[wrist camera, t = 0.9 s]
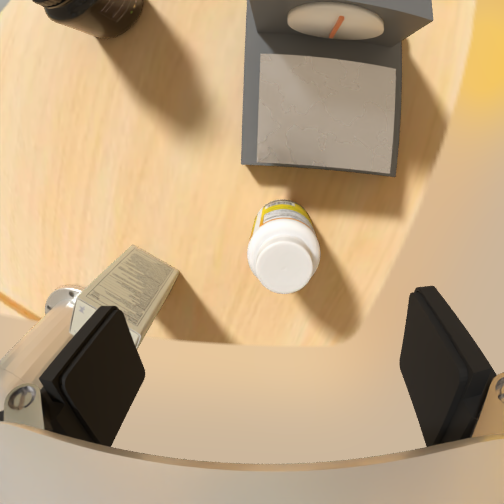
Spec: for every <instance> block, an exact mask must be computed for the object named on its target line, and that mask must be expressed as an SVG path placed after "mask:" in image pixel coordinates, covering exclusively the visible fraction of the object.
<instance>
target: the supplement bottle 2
mask: <svg viewBox="0 0 504 504" xmlns="http://www.w3.org/2000/svg"><path fill="white" fill-rule="evenodd" d="M247 257H248V263H249V266H250V268H251V270H252V272H253V273H254V275H255V276H256V277H257V278H258V279H259V280H260V282H261V283H262V284H263V286H265V287H266V288H267V289H269V290H270V291H273V292H275V293H280V294H289V293H293V292H296V291H298V290H300V289H302V288H303V287H304V286H305V285H306V284H307V283H308V282H309V280H310V278H311V277H312V276H313V274H314V273H315V271H316V270H317V268H318V265H319V262H320V246H319V242H318V239H317V237H316V234H315V231H314V228H313V225H312V223H311V220H310V217H309V215H308V213H307V212H306V211H305V209H304V208H303V207H302V206H300V205H299V204H297V203H295V202H293V201H290V200H275V201H272V202H270V203H268V204H266V205H265V206H264V207H263V208H262V209H261V210H260V211H259V212H258V214H257V216H256V218H255V221H254V225H253V229H252V233H251V237H250V241H249V245H248V251H247Z"/></svg>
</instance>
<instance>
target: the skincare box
mask: <svg viewBox="0 0 504 504" xmlns="http://www.w3.org/2000/svg"><path fill="white" fill-rule="evenodd" d="M178 274H179V271H178V270H177V269H175V268H174V267H172V266H170V265H168V264H167V263H165V262H163V261H161V260H160V259H158V258H156V257H154V256H152V255H151V254H149V253H147V252H146V251H144V250H142V249H140V248H138V247H136V246H134V245H131V246H130V247H129V248H128V249H127V250H126V251H125V252H124V253H123V254H121V255H120V256H119V257H118V258H117V259H116V260H115V261H114V262H113V263H112V264H111V265H110V266H108V267H107V268H106V269H105V270H104V271H103V272H102V273H101V274H100V275H99V276H98V277H97V278H96V279H95V280H94V281H93V282H92V283H91V284H90V285H89V286H88V287H86V288H85V289H84V290H83V291H82V292H81V293H80V294H79V295H78V296H77V297H76V301H75V305H74V308H73V313H72V317H71V322H70V328H69V333H71V334H72V335H75V334H76V333H77V332H78V331H79V329H80V328H81V327H82V326H83V325H84V324H85V323H86V321H87V320H88V319H89V318H90V317H91V316H92V315H93V314H94V312H95V311H96V310H97V309H98V308H99V307H100V306H117V307H118V308H119V310H121V311H122V312H123V313H124V316H125V319H126V322H127V325H128V328H129V330H130V333H131V336H132V338H133V341H134V344H135V346H136V349H138V347H139V345H140V344H141V342H142V340H143V338H144V336H145V335H146V333H147V331H148V329H149V327H150V326H151V324H152V322H153V320H154V319H155V317H156V315H157V314H158V312H159V310H160V308H161V307H162V305H163V303H164V302H165V300H166V298H167V296H168V294H169V292H170V291H171V289H172V287H173V285H174V283H175V281H176V279H177V277H178Z"/></svg>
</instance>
